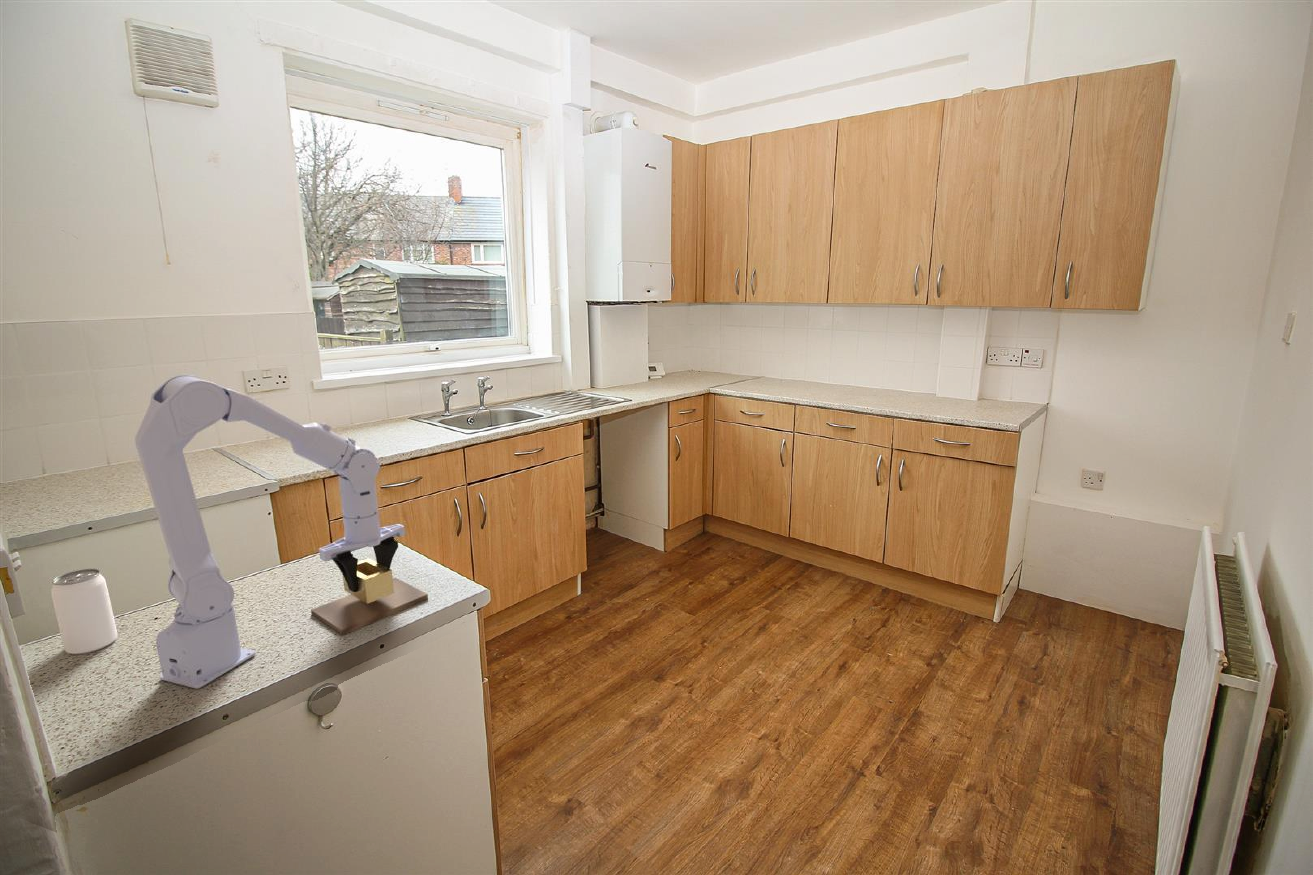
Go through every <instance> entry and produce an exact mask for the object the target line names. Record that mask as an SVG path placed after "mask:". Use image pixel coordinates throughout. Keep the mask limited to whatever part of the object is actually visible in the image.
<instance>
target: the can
mask: <svg viewBox="0 0 1313 875" xmlns="http://www.w3.org/2000/svg"><path fill="white" fill-rule="evenodd" d="M52 584H53V585H52V587H51V590H50V594H51V599H52V603H53V604H52V605H53V607H54V613H55V616H56V620H57V625H58V629H59V632H60V637H61V641H62V645H63V649H64V651H65V653H68V654H70V655H75V656H76V655H85V654H91V653H94V652H97V651H99V650H102V649H104V648H106V647H108V646H110V645H112V643H114V642H115V641H116V639H118V630H117V626H116V621H115V617H114V612H113V607H112V602H111V598H110V594H109V589H108V586H107V581H106V578H105V577H104V576H103V575H102V574H101V571H100V569H98V568H83V569H77V570H72V571H69V572H67V573H64V574H61V575H59V576H57V577H55V578H54V579H52Z"/></svg>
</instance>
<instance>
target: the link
mask: <svg viewBox="0 0 1313 875" xmlns="http://www.w3.org/2000/svg"><path fill="white" fill-rule="evenodd" d="M393 577H394V576H393V570H392V569H391V568H390V569H389V568H387V567H385V566H383V565H381V564H379V563H377V561H376V560H373V559H370V558H366V559H362V560H358V563H357V579H358V591H357V592H352V591H351V590H349V588H348V585H347V582H346V580H345V578H344V576H343V575H342V580H343V589H344V591H345V592H346V593H348V594H349V595H353V596H355V597H357V598H358V599H360V600H362V601H363V602H365V603H367V604H368V603H371V602H373V601H376V600H378V599H381V598H383V597H386V596H388V595H391V594H393V593H394V586H393Z"/></svg>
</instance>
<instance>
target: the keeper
mask: <svg viewBox="0 0 1313 875" xmlns="http://www.w3.org/2000/svg"><path fill="white" fill-rule="evenodd" d="M393 586H394V593H393V594H391V595H388V596H386V597H383V598H381V599H378V600H376V601H373V602H371V603H368V604H367V603H365V602H363V601H362V600H360V599H358V598H357V597H355V596H353V595H351V594H348V595H347V596H343V597H341V598H338V599H335V600H334V601H330V602H328V603H325V604H322V605H321V606H317V607H314V608H312V609H311V610H310V611H311V612H310V613H311V616H312V617H314V618H316V619H317V620H318V621H320V622H321V623H323V624H324V625H326V626H327V627H329V628H331V629H332V630H333V631H335V632H336V633H338V634H339V635H341V636H345V635H347V634H350V633H352V632H354V631H357V630H359V629H361V628H364V627H366V626H368V625H370V624H373V623H375V622H378V621H380V620H382V619H385V618H387V617H390V616H392V615H394V614H396V613H398V612H401V611H403V610H406V609H408V608H410V607H413V606H416V605H418V604H421V603H422V602H424V600H425V601H427V600H429V596H428V595H429V594H428V593H426V592H424V591H423V590H421V589H419V588H416V587H414V586H413V585H410V584H408V583H407V582H405V581H402V580H401V579H399V578H397V577H394V578H393ZM426 599H427V600H426Z"/></svg>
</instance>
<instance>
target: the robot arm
mask: <svg viewBox="0 0 1313 875" xmlns="http://www.w3.org/2000/svg"><path fill="white" fill-rule="evenodd" d="M149 401H150V402H149V406H148V408H147V410H146V412H145V414H144V417H143V419H142V421H141V424H140V426H139V427H138V430H137V433H136V435H135V438H134V440H135V441H134V442H135V447H136V450H137V453H138V457H139V460H140V462H141V466H142V471H143V473H144V476H145V480H146V482H147V483H146V484H147V486H148V489H149V493H150V497H151V500H152V502H153V503H152V504H153V506H154V509H155V513H156V516H157V518H158V519H157V520H158V522H159V526H160V529H161V532H162V535H163V536H162V537H163V538H164V542H165V545H166V548H167V551H168V554H169V558H168V564H169V569H170V574H169V579H168V581H167V589H168V592H169V594H170V595H171V596H172V597H173V598H175V600H176V601H177V602H178V605H177V606H176V609H175V612H174V613H173V616H174V619H173V621H172V622H171V623H170V624H169V625H168V626H167V627H166V628H164V629H162V630H161V631H160V632H159V633H158V634H157V636H156V640H155V644H156V650H157V655H158V661H159V665H160V670H161V674H160V675H159V677H158V678H159V680H162V681H165V682H166V681H167V682H169V683H173V684H177V685H180V686H186V687H189V688H193V689H196V690H197V689H201V688H202V687H204V686H206V685H207V684H209V683H211V682H213V681H214V680H216V679H217V678H219V677H220V676H222V675H224V674H225V673H227V672H229V671H230V670H232V669H234V668H235V667H237V666H239V665H240V664H242V663H244V662H245V661H247V660H249V659H251V658H252V657H254V656H255V655H256V651H255V650H251V649H246V648H243V647H241V642H240V638H239V631H238V625H237V619H236V612H235V606H234V598H235V591H234V587H233V585H231V583H230V582H229V581H228V580H226V579H225V578H224V577H223V576H222V573H221V570H220V568H219V565H218V562H217V560H216V559H215V556H214V554H213V552H212V550H211V546H210V543H209V540H208V536H207V535H208V534H207V533H206V529H205V526H204V522H203V518H202V516H201V511H200V507H199V504H198V501H197V498H196V494H195V491H194V490H195V489H194V487H193V483H192V480H191V477H190V476H191V475H190V472H189V469H188V465H187V463H186V458H185V454H184V452H183V450H184V449H185V447H186V446H187V445H188V444H189V443H190V442H191V441H192V439H194V438H195V437H196V435H197V434H199V433H200V432H202V431H204V430H206V429H207V428H209V427H211V426H213V425H214V424H216V423H217V422H219V421H220V420H223V421H225V422H227V423H232V422H234V423H235V422H241V421H242V422H247V423H249V424H252V425H254V426H255V427H258V428H260V429H262V430H265V431H268V432H269V433H272V434H274V435H276V436H278V437H280V438H281V439H285V440H287V441H289V443H290V445H291V448H292V450H293V453H294V454H295V455H297V456H299V457H302V458H304V459H306V460H308V461H310V462H312V463H314V464H316V465H319V466H321V467H323V468H325V469H327V470H329V471H332V472H333V473H334V474H335V475H338V485H339V495H340V496H339V497H340V505H341V511H342V521H343V530H344V537H341V538H340V539H338V540H336V541H334V542H332V543H328V544H327V545H325V546H322V547H320V548H318V553H319V559H320V560H322V561H324V562H329V561H333V562H334V563H335V565H336V566H337V567H338V569H339V570H340V572H341V574H342V577H343V576H344V578H345V580H346V582H347V585H348V588H349V590H351V591H352V592H357V591H358V579H357V563H358V562H359V559H358V558H356V557H355V556H354V554H353V553H352V552H355V551H357V550H358V551H359V550H361V549H363V548H367V547H368V548H373V552H374V555H375V562H377V563H379V564H381V565H383V566H385V567H387V568H389V569H391V567H392V561H393V559H394V556H395V554H396V552H397V550H398V549H399V542H398V541H397V540H395V538H402V537H405V536H406V532H405V525H402V524H400V523H397V524H393V525H388V526H383V527H381V522H380V521H381V520H380V513H379V500H378V495H377V494H378V492H377V485H376V484H377V483H376V476H377V475H378V474H379V472H380V469H381V462H380V461H378V458H377V457H376V454H375V453H374V452H373V451H372V450H369V449H367V448H363V447H361V446H359V445H357V444H356V443H357V441H356V440H355V439H353V438H350V437H348V438H346V437H343V436H341V435H340V434H337V433H335V432H334V431H332V430H331V429H332V426H330V425H329V424H326V423H325V422H320V423H317V422H309V423H305V424H300V423H299V422H297V421H295V420H293V419H292V418H289V417H287V415H284V414H282V413H280V412H278V411H277V410H275V409H273V408H272V407H270V406H268V405H266V404H264V403H262V402H260V401H259V400H257V399H255V398H253V397H252V396H249V395H247V394H244V393H242V392H240V391H237V390H233V389H231V388H227V387H225V386H221V385H218V384H217V383H215V382H212V381H208V380H204V379H202V378H200V377H198V376H195V375H193V374H192V375H191V374H179V375H175V376H173V377H170V378H169V379H167V380H166V381H164V383H163V384H161V385H160V386H159V387H158V388H157V389H156V390H155V391H153V393H152V394H151V396H150V400H149Z"/></svg>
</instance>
